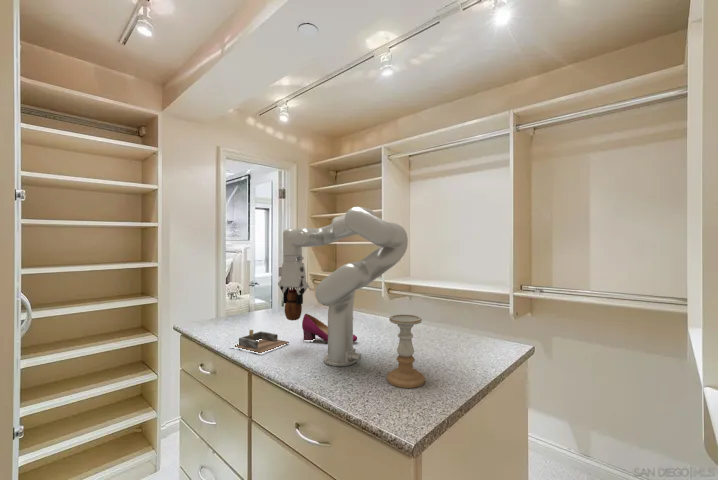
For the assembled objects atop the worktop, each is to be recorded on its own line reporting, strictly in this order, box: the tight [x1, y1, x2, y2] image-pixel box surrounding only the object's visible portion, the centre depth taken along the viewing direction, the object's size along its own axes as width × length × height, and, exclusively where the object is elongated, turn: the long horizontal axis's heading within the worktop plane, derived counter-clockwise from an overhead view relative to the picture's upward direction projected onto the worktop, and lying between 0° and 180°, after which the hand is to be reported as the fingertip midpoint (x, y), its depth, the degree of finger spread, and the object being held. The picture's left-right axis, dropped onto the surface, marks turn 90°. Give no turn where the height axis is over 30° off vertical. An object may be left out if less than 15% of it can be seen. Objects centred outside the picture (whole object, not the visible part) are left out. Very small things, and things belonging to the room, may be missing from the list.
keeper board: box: [235, 329, 290, 353], centre depth 140 cm, size 19×16×6 cm
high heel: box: [301, 313, 358, 344], centre depth 146 cm, size 9×26×12 cm, turn 83°
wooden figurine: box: [284, 287, 303, 321], centre depth 132 cm, size 7×6×15 cm
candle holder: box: [386, 314, 426, 389], centre depth 105 cm, size 12×12×20 cm
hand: (293, 303), depth 132 cm, fingers closed on wooden figurine, 6 cm apart
